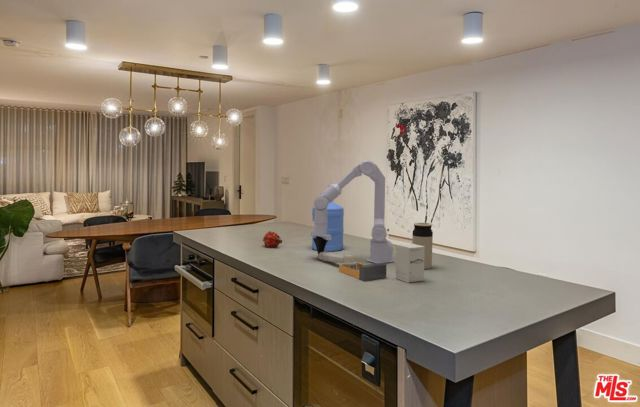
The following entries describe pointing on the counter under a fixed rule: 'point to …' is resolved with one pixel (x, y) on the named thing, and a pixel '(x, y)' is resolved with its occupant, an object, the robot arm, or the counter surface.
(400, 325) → the counter surface
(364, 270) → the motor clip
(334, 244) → the water jug
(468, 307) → the counter surface
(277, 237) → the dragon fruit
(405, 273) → the supplement box
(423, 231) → the travel mug
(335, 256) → the electric toothbrush
